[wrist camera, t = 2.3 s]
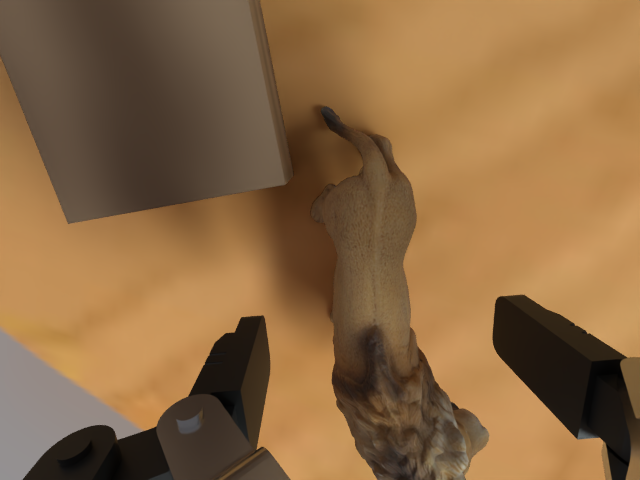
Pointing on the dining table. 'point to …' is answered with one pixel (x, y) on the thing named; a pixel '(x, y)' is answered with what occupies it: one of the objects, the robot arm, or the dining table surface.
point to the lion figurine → (386, 327)
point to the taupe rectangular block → (146, 100)
